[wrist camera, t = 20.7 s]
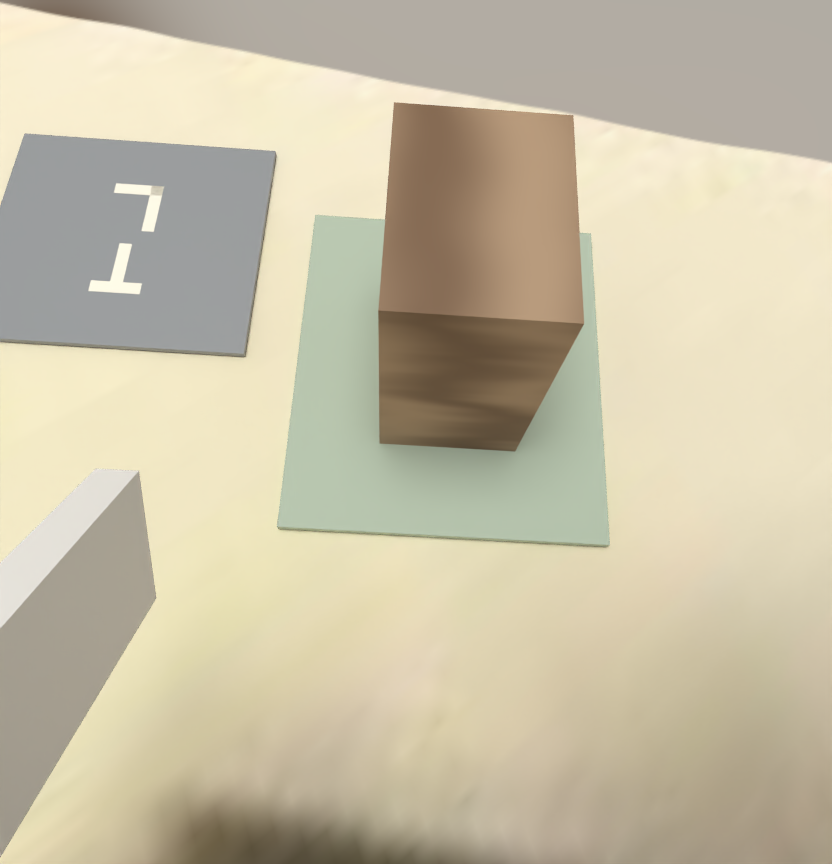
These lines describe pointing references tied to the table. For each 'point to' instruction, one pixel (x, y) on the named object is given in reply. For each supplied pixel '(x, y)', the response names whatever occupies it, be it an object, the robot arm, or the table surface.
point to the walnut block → (476, 274)
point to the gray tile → (132, 244)
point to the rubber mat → (423, 465)
